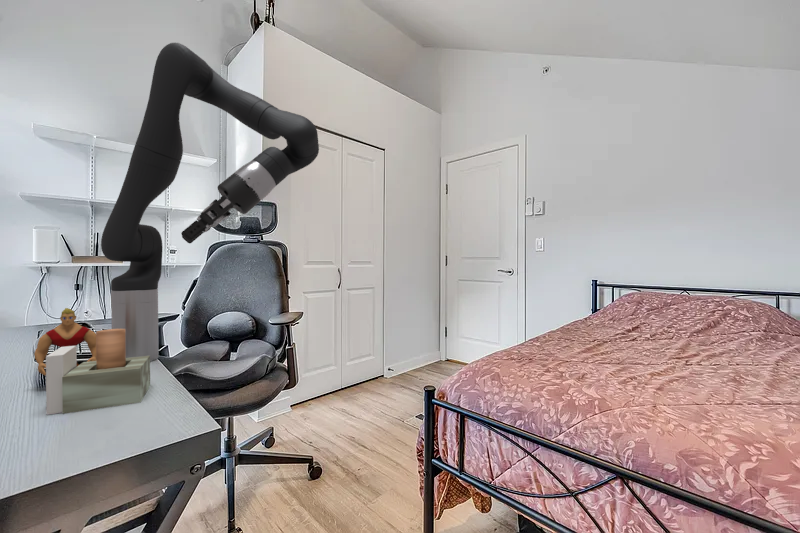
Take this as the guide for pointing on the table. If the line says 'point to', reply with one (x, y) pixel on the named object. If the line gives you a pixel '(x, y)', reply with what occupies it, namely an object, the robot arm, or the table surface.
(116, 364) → the dowel
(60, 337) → the action figure
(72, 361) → the backstop wall
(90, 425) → the table surface
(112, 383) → the socket block
